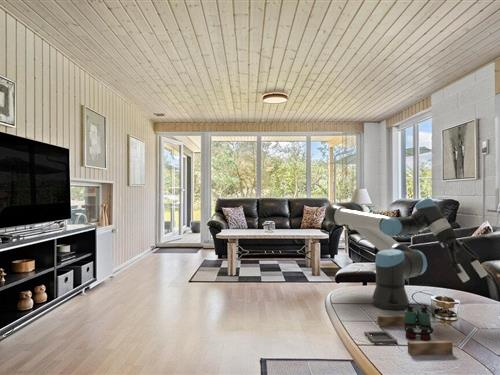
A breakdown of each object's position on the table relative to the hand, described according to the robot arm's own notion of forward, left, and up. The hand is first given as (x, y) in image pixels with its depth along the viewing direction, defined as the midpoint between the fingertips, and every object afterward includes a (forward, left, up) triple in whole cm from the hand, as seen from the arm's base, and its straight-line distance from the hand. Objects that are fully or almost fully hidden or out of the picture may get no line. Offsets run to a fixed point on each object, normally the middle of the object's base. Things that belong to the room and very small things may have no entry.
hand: (475, 278), depth 139 cm
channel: (-2, -39, -15) cm, 42 cm away
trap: (-7, -48, -15) cm, 51 cm away
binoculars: (-1, -36, -16) cm, 40 cm away
